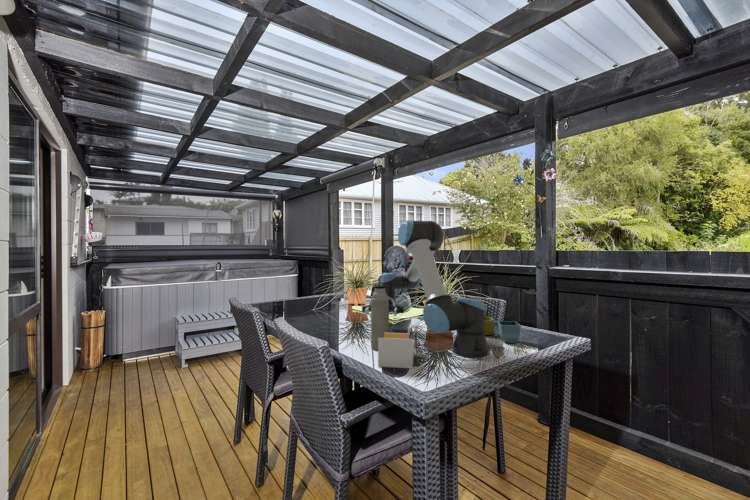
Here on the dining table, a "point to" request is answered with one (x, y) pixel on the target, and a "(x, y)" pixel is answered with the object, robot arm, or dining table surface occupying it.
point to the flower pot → (509, 331)
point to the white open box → (395, 352)
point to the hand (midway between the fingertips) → (380, 312)
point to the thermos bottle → (379, 315)
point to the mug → (489, 326)
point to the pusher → (397, 335)
